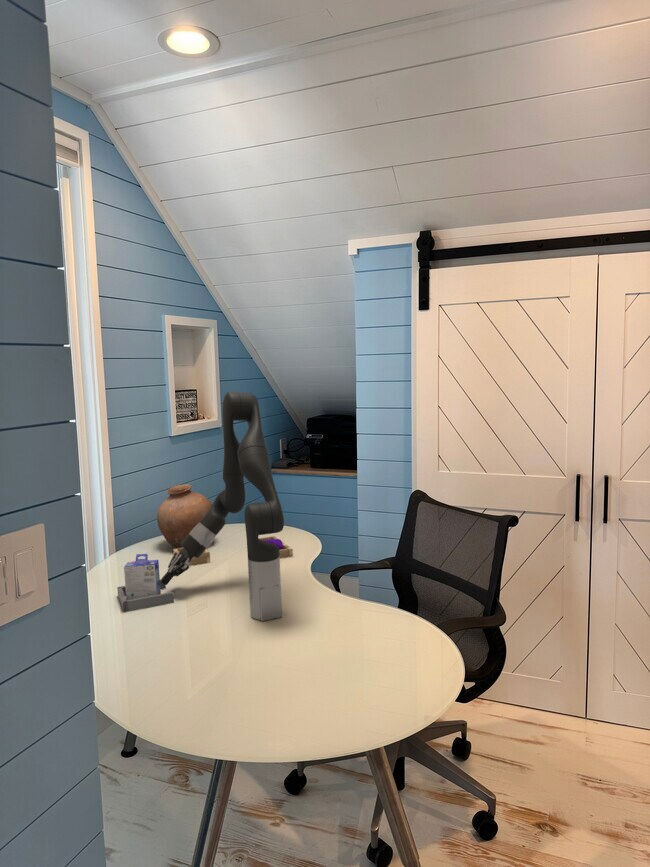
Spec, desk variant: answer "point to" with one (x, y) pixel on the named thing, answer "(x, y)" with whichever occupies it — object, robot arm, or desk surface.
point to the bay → (144, 599)
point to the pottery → (181, 513)
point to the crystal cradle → (283, 552)
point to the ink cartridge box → (142, 578)
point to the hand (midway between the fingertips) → (163, 583)
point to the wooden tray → (202, 559)
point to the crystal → (276, 542)
